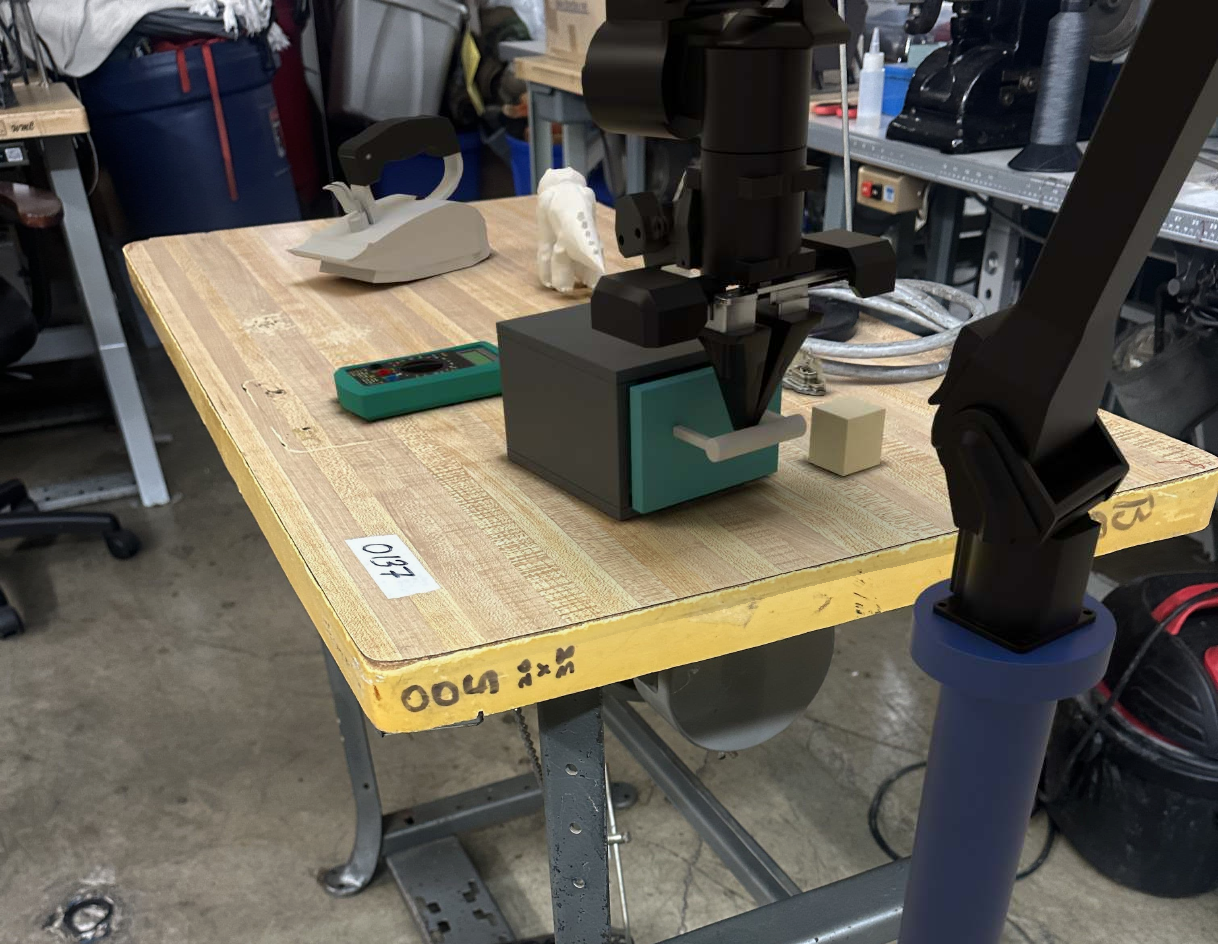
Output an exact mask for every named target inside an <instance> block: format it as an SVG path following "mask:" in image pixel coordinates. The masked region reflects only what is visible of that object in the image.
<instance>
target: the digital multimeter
mask: <svg viewBox="0 0 1218 944" xmlns="http://www.w3.org/2000/svg"><path fill="white" fill-rule="evenodd" d="M333 379H334V384H335V390H336V391H335V392H336V396H337V400H338V402H339V404H340V406H342V408H344V409H346V410H348V411H349V412H351V413H353V414H355V415H357V416H359V417H361V418H362V419H365V420H367V421H374V420H375V421H376V420H380V419H385V418H389V417H394V416H399V415H402V414H403V415H404V414H408V413H409V414H410V413H413V412H414V413H415V412H417V411H423V410H428V409H432V408H433V409H434V408H437V407H443V406H446V405H452V404H457V403H461V402H466V401H467V402H468V401H472V400H476V399H481V398H485V397H491V396H495V395H502V386H501V375H500V363H499V352H498V345H494V344H493V343H491V342H488V341H485V340H478V341H473V342H469V343H465V344H460V345H456V346H451V347H445V348H442V349H437V350H431V351H426V352H421V353H415V354H409V355H405V356H399V357H394V358H388V359H381V360H376V361H375V360H374V361H370V362H365V363H359V364H351V365H345V366H341V367H339V368H338V369H337V370H335V372H333Z"/></svg>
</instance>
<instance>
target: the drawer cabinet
mask: <svg viewBox="0 0 1218 944" xmlns="http://www.w3.org/2000/svg"><path fill="white" fill-rule="evenodd" d="M495 330H496V341H497V347H498V352H499V363H500V375H501V386H502V393H501V395H502V397H501V398H502V406H503V419H504V420H503V421H504V429H505V440H506V456H507V459H508V460H510V461H512V462H513V463H515V464H517V465H519V466H521V467H523V468H524V469H526V470H528V471H530V472H532V473H533V474H535V475H536V476H538V477H540V478H542V479H544V480H546V481H547V482H550V483H551V484H553V485H555V486H557V487H558V488H560V489H562V490H563V491H565V492H567V493H569V494H571V495H573V496H575V497H576V498H578V499H580V500H582V502H583V501H584V502H585V503H587V504H589V505H591V506H592V507H594V508H595V509H596V508H597V509H598V510H600V511H601V512H603V513H605V514H607V515H608V516H610V517H612V518H614V519H616V520H617V521H619V522H622V521H625V520H628V519H631V518H635V517H638V516H641V515H643V514H642V513H640V512H638V511H636V510H635V509H633V503H632V494H631V495H629V476H628V434H627V391H626V382H629V381H633V380H637V379H641V378H645V377H649V376H652V375H656V374H660V373H664V372H668V371H672V370H676V369H680V368H684V367H688V366H692V365H696V364H700V363H704V362H708V361H710V360H709V358H708V355H707V353H706V351H705V349H704V347H703V345H702V344H701V343H700V341H699V340H698V339H695V340H691V341H687V342H682V343H678V344H674V345H670V346H666V347H662V348H643V347H640V346H637V345H635V344H632V343H629V342H626V341H624V340H621V339H618V338H616V337H613V336H610V335H608V334H605V333H602V332H599V331H597V330H594V329H592V327H591V303H590V302H584V303H580V304H575V305H571V306H566V307H562V308H561V307H560V308H557V309H553V310H549V311H547V310H546V311H543V312H538V313H534V314H528V315H524V316H518V317H515V318H510V319H505V320H500V321H496V322H495Z"/></svg>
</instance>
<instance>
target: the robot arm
mask: <svg viewBox="0 0 1218 944" xmlns="http://www.w3.org/2000/svg"><path fill="white" fill-rule="evenodd" d="M774 1H775V0H605V1H604V2H605V4H604V5H605V20H604V21H603V22H602V23H601V25H599V27H598V28H597V29H596V30H595V32H594V34H593V36H592V38H591V39H590V41H589V44H588V48H587V51H586V54H585V60H584V65H583V66H582V67H581V71H580V73H581V74H580V75H581V77H580V80H581V81H580V83H581V90H582V97H583V100H584V103H585V107H586V110H587V112H588V114H589V116H590V118H591V119H592V121H593V122H594V123H595V124H596V125H597V126H598V128H600V129H601V130H603V131H604V132H606V133H612V134H621V135H631V136H641V137H642V136H643V137H653V138H663V139H673V140H683V141H687V140H691V139H694V138H696V137H697V136H699V135H700V136H701V139H700V141H701V142H700V164H698V165H689V166H686V167H685V170H686V171H685V174H684V176H683V179H682V184H683V185H682V196H681V197H680V198H678V199H676V200H673V201H667V202H662V203H661V202H660V201H659V199H658V197H657V196H656V193H655V192H654V191H653V190H645V191H640V192H633V193H628V194H625V195H623V196H621V197H619V198H617V199H615V213H614V216H615V217H614V232H615V238H616V239H615V240H616V244H617V248H618V252H619V253H620V254H621V256H622V258H624V259H630V258H636V257H641V256H642V259H643V265H644V266H643V267H639V268H634V269H629V270H623V271H619V272H614V273H610V274H606V275H604V276H601V277H600V279H599V281H598V283H597V284H596V286H595V288H594V289H593V290H592V292H591V295H590V298H589V300H590V302H589V303H591V327H592V329H594V330H597V331H599V332H602V333H605V334H608V335H610V336H613V337H616V338H618V339H621V340H624V341H626V342H629V343H632V344H635V345H637V346H640V347H643V348H662V347H666V346H670V345H674V344H678V343H682V342H687V341H691V340H695V339H698V340H699V341H700V343H701V344H702V345H703V347H704V349H705V351H706V353H707V355H708V358H709V360H710V362H711V364H712V367H713V369H714V372H715V375H716V378H717V381H718V384H719V387H720V390H721V393H722V396H723V399H724V402H725V405H726V408H727V411H728V415H729V418H730V421H731V424H732V427H733V429H734V431H739V430H742V429H746V428H749V427H752V426H756V425H758V424H759V422H760V420H761V418H762V416H763V414H764V412H765V410H766V409H767V407H768V405H769V403H770V401H771V399H772V397H773V395H774V393H775V391H776V389H777V387H778V386H779V384H780V381H781V380H782V378H783V376H784V375H785V373H786V371H787V369H789V366H790V364H791V362H792V361H793V359H794V358H795V356H796V355H797V353H798V351H799V349H802V346H803V345H804V343H805V342H806V340H807V338H808V337H809V335H810V333H811V332H812V330H813V329H814V327H815V326H817V325H821V324H823V322H824V320H825V312H823V311H820V310H817V309H813V308H810V296H809V289H812V288H813V289H814V288H817V287H820V286H826V285H830V284H834V283H839V282H842V281H845V282H847V286H848V288H849V289H850V291H851V292H852V293H853V294H854V296H855V297H856V298H858V299H861V300H864V299H865V300H866V299H869V298H873V297H877V296H881V295H886V294H891V293H894V292H895V291H896V282H897V281H896V280H897V271H898V263H899V262H898V261H899V258H898V255H897V253H896V252H895V249H894V247H893V246H892V243H891V241H890V239H888V238H884V237H879V236H876V235H875V236H874V235H869V234H866V233H862V232H861V233H860V232H857V231H850V230H847V229H842V228H832V229H828V230H821V231H818V232H813V233H807V234H804V235H803V225H804V224H803V222H804V204H805V192H809V191H815V190H820V189H821V184H822V167H820V166H814V165H808V164H807V154H808V139H809V121H810V105H811V89H812V88H811V87H812V71H813V70H812V69H813V54H814V49H820V48H828V47H835V46H841V45H847V44H848V43H849V42H850V41H851V39H852V37H853V31H852V29H851V27H850V25H849V24H847V22H846V21H845V20H844V18H843V17H842V16H841V15H840V14H839V13H838V12H837V11H836V10H835V9H834V8H833V6H832V5H831V4H830V1H829V0H788V1H787V3H786V4H785V5H784V6H782V7H781V6H780V7H779V6H778V7H777V6H775V7H773V6H770V5H772V3H773V2H774ZM734 13H736V14H734ZM726 14H734V15H733V16H732V17H731V19H729V21H728V22H727V24H726V25H725V26H724V15H726ZM1217 119H1218V0H1150V2H1149V4H1148V6H1147V9H1146V11H1145V13H1144V15H1143V18H1142V20H1141V22H1140V24H1139V26H1138V29H1137V31H1136V33H1135V36H1134V38H1133V40H1132V42H1131V45H1130V47H1129V50H1128V52H1127V54H1126V57H1125V58H1124V61H1123V63H1122V65H1121V68H1120V70H1119V72H1118V74H1117V77H1116V79H1115V82H1114V84H1113V85H1112V88H1111V90H1110V93H1109V95H1108V97H1107V100H1106V102H1105V104H1104V106H1103V109H1102V111H1101V113H1100V115H1099V118H1098V120H1097V122H1096V124H1095V126H1094V129H1093V131H1092V134H1091V136H1090V138H1089V141H1088V142H1087V145H1086V147H1085V150H1084V152H1083V155H1082V156H1081V159H1080V161H1079V163H1078V165H1077V168H1076V170H1075V173H1074V174H1073V177H1072V179H1071V181H1070V183H1069V187H1068V188H1067V191H1066V193H1065V195H1064V197H1063V200H1062V201H1061V204H1060V206H1059V208H1058V211H1057V213H1056V215H1055V218H1054V220H1053V222H1052V225H1051V226H1050V229H1049V231H1048V234H1047V236H1046V239H1045V241H1044V243H1043V245H1042V247H1041V250H1040V252H1039V254H1038V256H1037V259H1036V261H1035V263H1034V266H1033V268H1032V270H1031V272H1030V275H1029V277H1028V279H1027V281H1026V283H1025V286H1024V288H1023V290H1022V293H1021V294H1020V295H1019V297H1018V298H1017V300H1016V301H1015V303H1014V304H1011V305H1009V306H1007V307H1004V308H1002V309H1000V310H998V311H995V312H992V313H990V314H987V315H986V316H983V317H981V318H979V319H976V320H974V321H972V322H969V323H967V324H965V325H963V326H961V328H960V329H959V332H958V334H957V336H956V339H955V340H954V343H953V346H952V350H951V353H950V358H949V361H948V366H947V368H946V371H945V372H946V373H945V376H944V377H943V379H942V381H941V383H940V384H939V386H938V388H937V389H936V390H935V391H934V392H933V393H932V394H931V395H930V396H929V397H928V398H927V404H928V405H929V406H938V408H937V409H936V411H935V413H934V415H933V419H932V424H931V428H930V444H931V447H932V448H934V449H935V452H936V455H937V458H938V462H939V464H940V465H941V467H942V469H943V470H944V476H945V481H946V487H947V493H948V498H949V504H950V510H951V515H952V522H953V525H954V527H955V528H957V529H958V530H957V531H958V532H957V537H956V543H955V549H954V555H953V561H952V567H951V573H950V578H951V579H950V586H949V588H950V591H951V592H952V593H953V595H951V596H949V597H946V598H944V599H941V600H939V601H936V602H935V603H934V604H933V613H935V614H936V615H939V616H941V617H943V618H945V619H947V620H949V621H951V622H953V623H955V624H957V625H959V626H961V627H963V628H965V629H967V630H969V631H971V632H973V633H975V634H977V635H979V636H981V637H983V638H985V639H987V640H989V641H991V642H993V643H995V644H997V645H999V646H1001V647H1003V648H1005V649H1007V650H1009V651H1011V652H1013V653H1016V654H1026V653H1029V652H1031V651H1033V650H1035V649H1038V648H1040V647H1042V646H1044V645H1046V644H1048V643H1051V642H1053V641H1055V640H1057V639H1059V638H1062V637H1064V636H1066V635H1068V634H1070V633H1072V632H1075V631H1077V630H1079V629H1081V628H1083V627H1086V626H1088V625H1090V624H1092V623H1094V622H1095V621H1096V617H1097V613H1096V611H1094V610H1092V609H1089V608H1087V607H1085V606H1083V601H1084V597H1085V593H1087V588H1088V583H1089V581H1090V575H1091V571H1092V567H1093V563H1094V558H1095V555H1096V550H1097V547H1098V541H1099V537H1100V533H1101V530H1102V526H1103V524H1102V522H1100V521H1098V520H1095V519H1093V518H1092V517H1091V514H1090V512H1089V511H1091V510H1093V509H1094V508H1096V507H1097V506H1098V505H1100V504H1101V503H1105V502H1107V501H1109V500H1110V499H1111V498H1113V496H1115V493H1116V492H1117V490H1118V489H1119V487H1120V486H1121V485H1122V483H1123V482H1124V480H1125V479H1126V477H1127V475H1128V474H1129V472H1130V469H1131V467H1130V463H1129V461H1128V460H1127V459H1126V457H1125V455H1124V454H1123V452H1122V451H1121V448H1120V447H1119V446H1118V444H1117V443H1116V441H1115V439H1114V438H1113V436H1112V435H1111V433H1110V431H1109V430H1108V428H1107V426H1106V425H1105V423H1104V422H1103V420H1102V418H1101V417H1100V416H1099V414H1098V412H1099V408H1100V406H1101V404H1102V403H1101V402H1102V399H1103V396H1104V393H1105V391H1106V387H1107V384H1108V381H1109V378H1110V376H1111V373H1112V368H1113V358H1114V357H1113V356H1114V346H1115V334H1116V324H1117V319H1118V316H1119V313H1120V310H1121V308H1122V306H1123V304H1124V302H1125V300H1126V298H1127V297H1128V294H1129V292H1130V290H1131V288H1132V287H1133V284H1134V282H1135V281H1136V278H1137V276H1138V274H1139V273H1140V271H1141V269H1142V267H1143V265H1144V263H1145V261H1146V259H1147V257H1148V255H1149V253H1150V251H1151V249H1152V248H1153V245H1154V243H1155V241H1156V239H1157V237H1158V235H1159V233H1160V232H1161V230H1162V227H1163V225H1164V224H1165V222H1166V219H1167V218H1168V215H1169V214H1170V212H1171V210H1172V208H1173V206H1174V204H1175V202H1176V200H1177V198H1178V197H1179V195H1180V192H1181V190H1182V188H1183V187H1184V184H1185V182H1186V180H1187V179H1188V176H1189V174H1190V173H1191V170H1192V168H1193V167H1194V164H1195V162H1196V161H1197V159H1198V157H1199V154H1200V152H1201V151H1202V148H1203V147H1204V144H1205V143H1206V141H1207V139H1208V137H1209V135H1210V134H1211V131H1212V129H1213V127H1214V125H1215V123H1216V121H1217ZM675 264H676V267H679V268H683V269H686V270H690V271H692V270H697V271H699V275H697V277H692V278H690V277H686V276H683V275H679V274H676V273H672V272H669V271H665V270H662V269H661V268H662V267H665V266H670V265H675ZM734 286H738V287H734ZM729 287H734V288H729ZM727 288H729V289H727Z"/></svg>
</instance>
